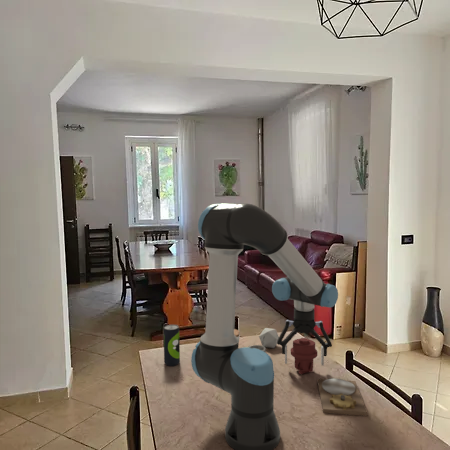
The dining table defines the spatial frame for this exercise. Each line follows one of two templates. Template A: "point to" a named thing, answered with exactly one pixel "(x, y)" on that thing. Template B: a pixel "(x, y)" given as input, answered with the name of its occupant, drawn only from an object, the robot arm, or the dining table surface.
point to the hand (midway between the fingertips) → (304, 363)
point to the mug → (258, 347)
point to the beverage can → (171, 345)
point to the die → (269, 337)
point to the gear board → (341, 397)
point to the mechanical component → (304, 354)
